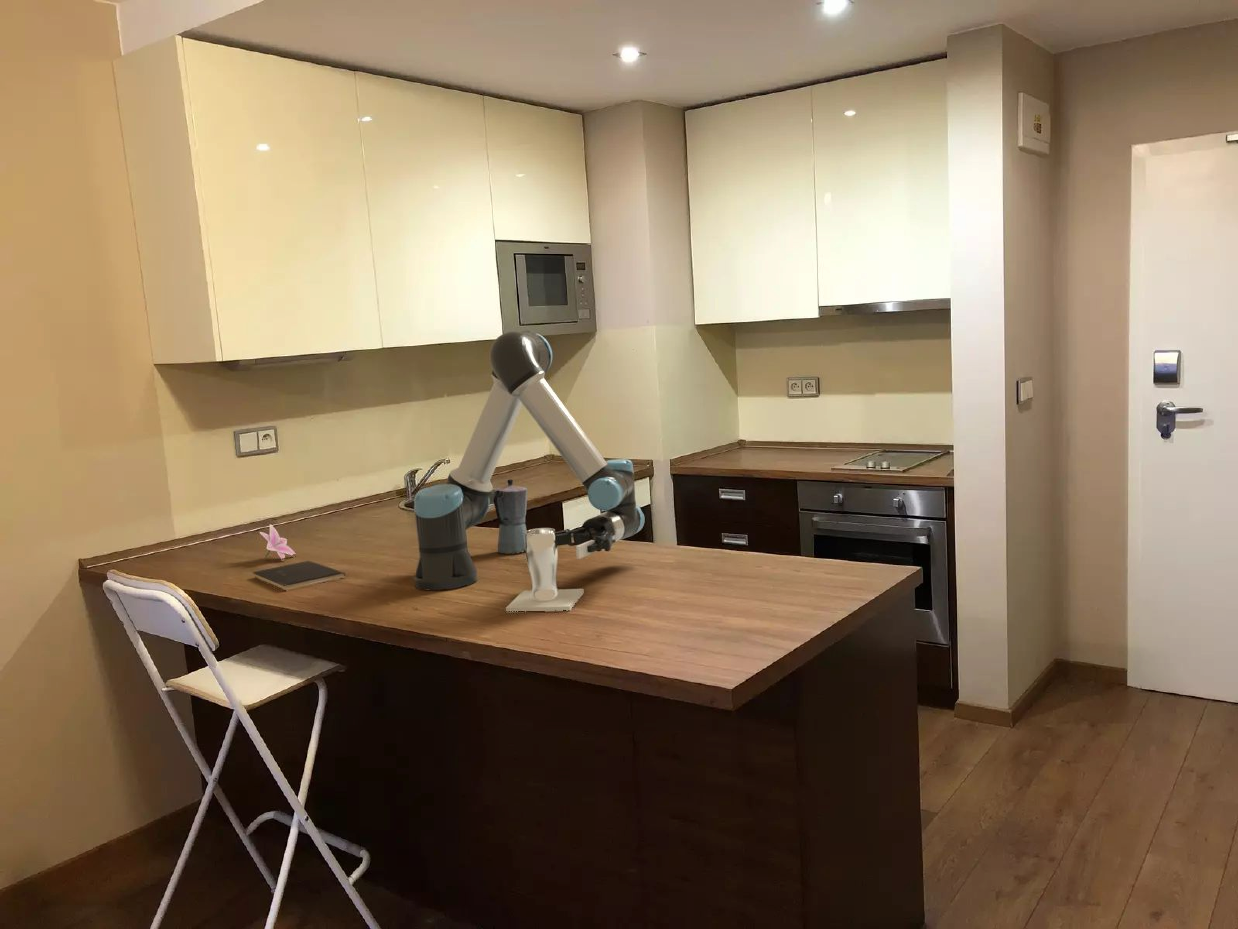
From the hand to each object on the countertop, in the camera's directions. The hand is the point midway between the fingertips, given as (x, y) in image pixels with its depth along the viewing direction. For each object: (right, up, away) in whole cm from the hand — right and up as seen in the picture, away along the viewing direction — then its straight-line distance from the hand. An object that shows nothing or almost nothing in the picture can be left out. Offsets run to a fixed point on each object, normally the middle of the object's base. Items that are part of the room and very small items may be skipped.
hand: (551, 551), depth 216 cm
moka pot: (-14, -5, +54) cm, 55 cm away
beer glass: (-1, -10, -1) cm, 11 cm away
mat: (-1, -11, -1) cm, 11 cm away
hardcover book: (-69, -12, +41) cm, 81 cm away
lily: (-83, -9, +67) cm, 107 cm away
